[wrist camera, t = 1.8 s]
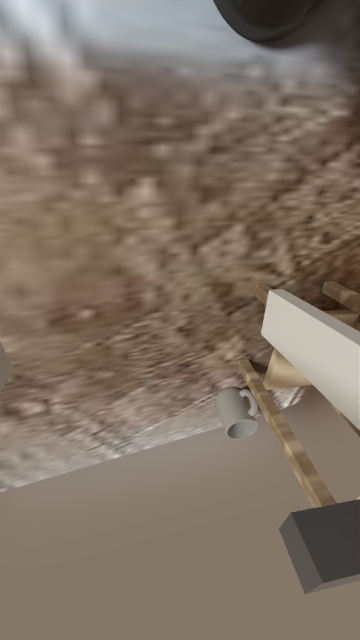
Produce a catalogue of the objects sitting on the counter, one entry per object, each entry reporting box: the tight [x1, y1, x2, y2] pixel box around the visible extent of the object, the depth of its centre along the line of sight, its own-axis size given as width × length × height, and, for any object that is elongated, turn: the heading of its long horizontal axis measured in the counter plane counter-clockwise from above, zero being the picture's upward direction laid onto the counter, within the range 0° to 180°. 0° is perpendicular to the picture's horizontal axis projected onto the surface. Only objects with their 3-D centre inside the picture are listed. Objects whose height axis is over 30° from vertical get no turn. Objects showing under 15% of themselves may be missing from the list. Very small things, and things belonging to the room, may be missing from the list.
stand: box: [238, 282, 360, 508], centre depth 33 cm, size 20×16×30 cm
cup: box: [215, 387, 258, 439], centre depth 51 cm, size 7×10×9 cm
